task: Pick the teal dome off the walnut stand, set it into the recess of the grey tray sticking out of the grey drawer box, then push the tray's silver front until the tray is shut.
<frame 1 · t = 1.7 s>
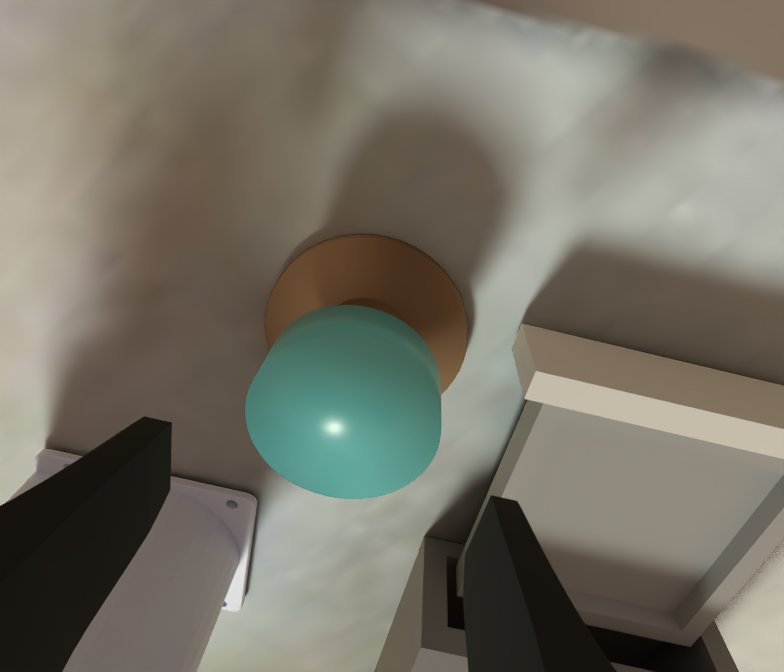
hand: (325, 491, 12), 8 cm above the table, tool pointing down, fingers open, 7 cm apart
tray: (632, 515, 19), point 2 cm above the table, slide at 10.0 cm
disc stand: (367, 329, 19), on the table
teal dome: (353, 384, 16), point 3 cm above the table, touching disc stand
grey drawer box: (517, 649, 27), on the table
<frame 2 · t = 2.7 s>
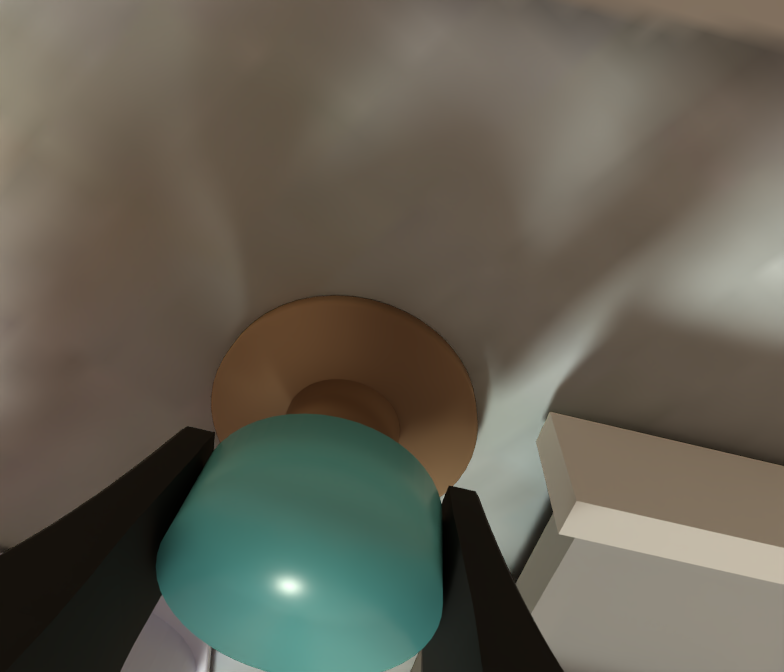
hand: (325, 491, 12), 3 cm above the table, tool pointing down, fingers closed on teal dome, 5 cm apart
tray: (689, 650, 15), point 2 cm above the table, slide at 10.0 cm
disc stand: (346, 413, 14), on the table
teal dome: (320, 512, 11), point 3 cm above the table, touching disc stand, gripper
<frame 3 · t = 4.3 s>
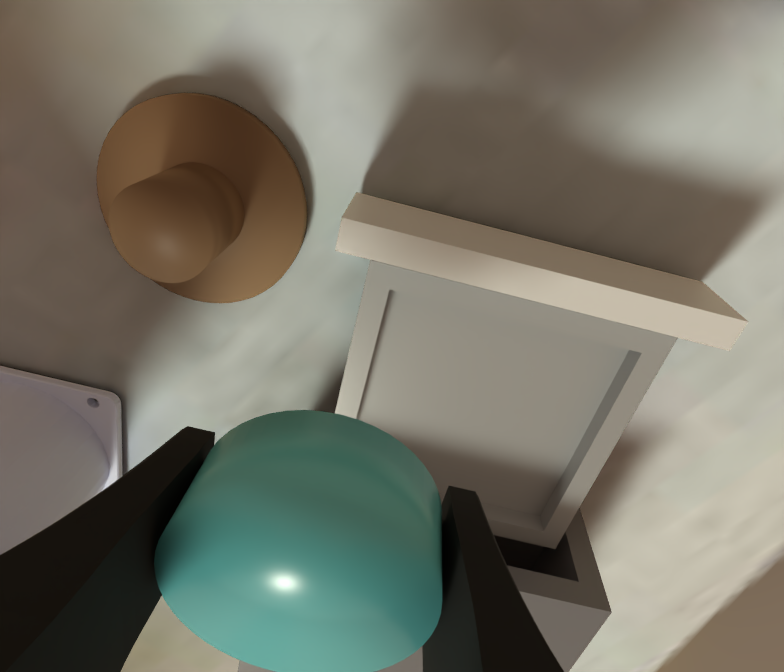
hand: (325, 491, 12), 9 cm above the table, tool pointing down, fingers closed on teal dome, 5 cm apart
tray: (480, 401, 19), point 2 cm above the table, slide at 10.0 cm
disc stand: (207, 203, 18), on the table
teal dome: (319, 509, 11), point 10 cm above the table, touching gripper
grey drawer box: (403, 568, 26), on the table
when the fingers open (3 cm above the table, at t = 6.3 s): teal dome drops 2 cm, resting on tray.
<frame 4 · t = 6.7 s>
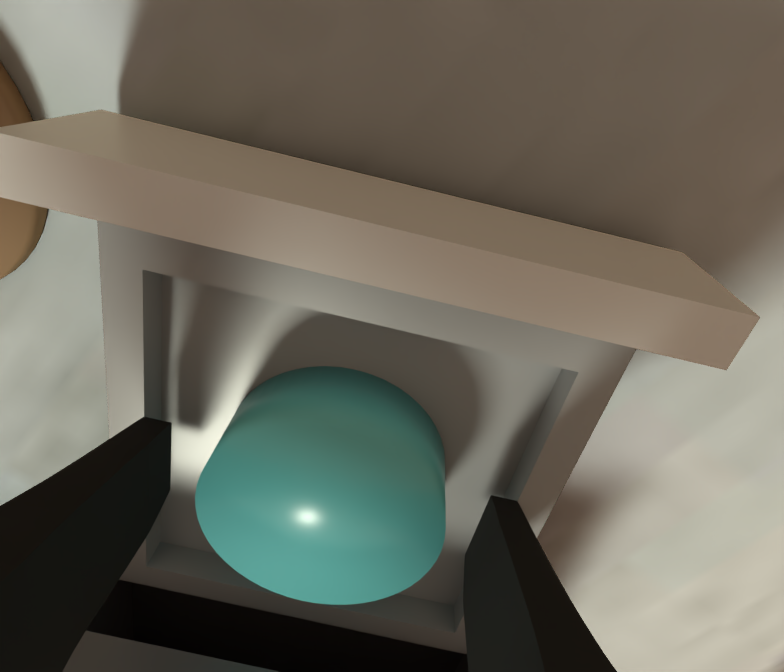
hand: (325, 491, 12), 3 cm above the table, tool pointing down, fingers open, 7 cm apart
tray: (336, 447, 12), point 2 cm above the table, slide at 10.0 cm, touching teal dome
teal dome: (336, 458, 13), point 2 cm above the table, touching tray
grey drawer box: (291, 655, 19), on the table
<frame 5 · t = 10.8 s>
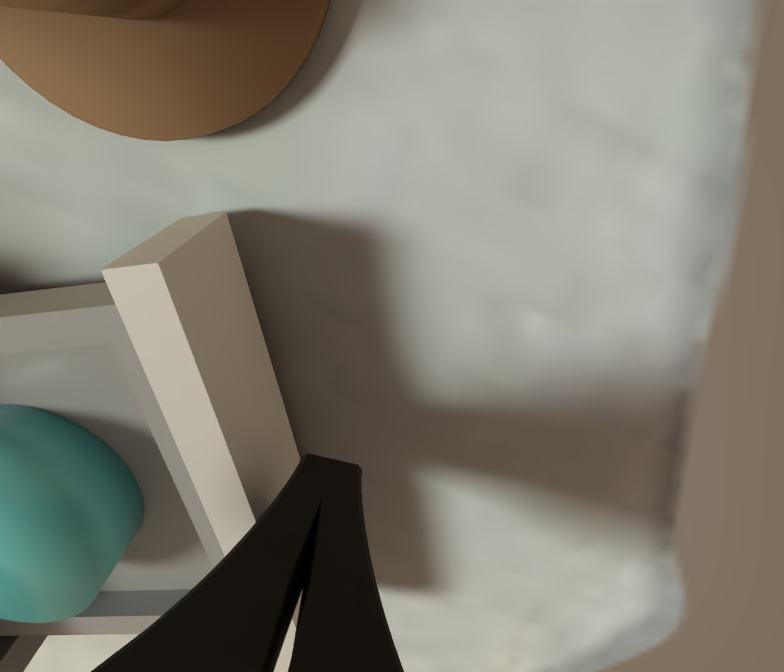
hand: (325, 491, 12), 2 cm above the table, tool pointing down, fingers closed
tray: (57, 492, 13), point 2 cm above the table, slide at 8.4 cm, touching teal dome, gripper
teal dome: (44, 486, 14), point 2 cm above the table, touching tray
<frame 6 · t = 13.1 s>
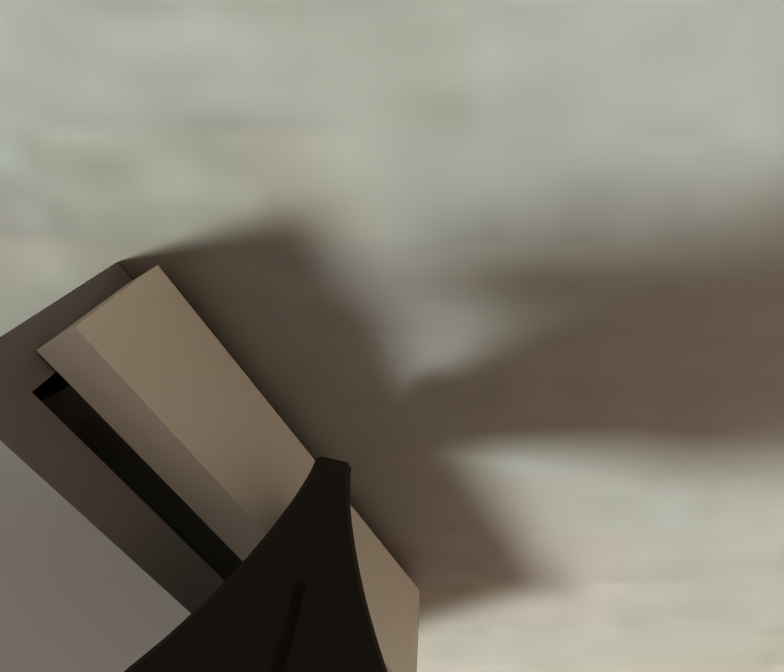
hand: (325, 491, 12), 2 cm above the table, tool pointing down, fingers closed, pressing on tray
tray: (124, 564, 14), point 2 cm above the table, slide at -0.2 cm, touching teal dome, gripper
grey drawer box: (116, 528, 17), on the table
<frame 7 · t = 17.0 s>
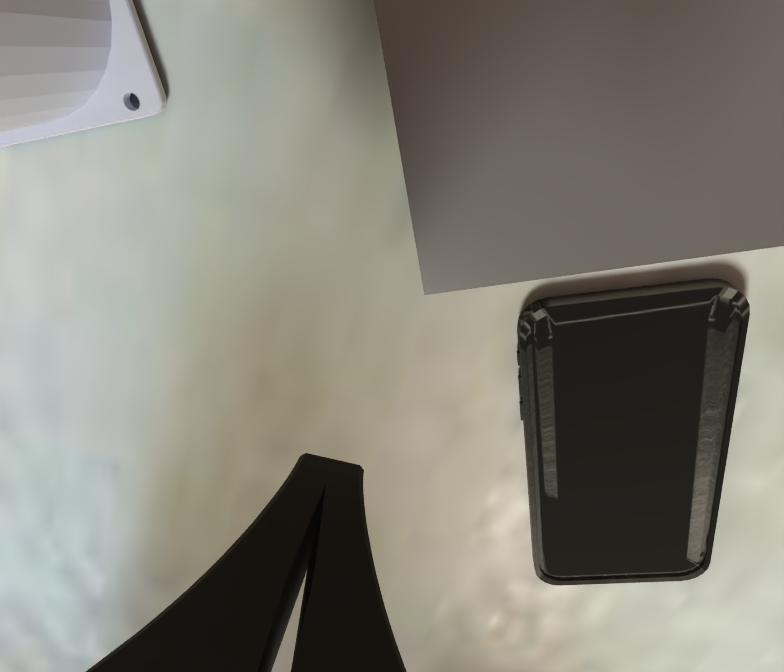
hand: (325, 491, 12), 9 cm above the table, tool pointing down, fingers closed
phone: (614, 442, 23), on the table
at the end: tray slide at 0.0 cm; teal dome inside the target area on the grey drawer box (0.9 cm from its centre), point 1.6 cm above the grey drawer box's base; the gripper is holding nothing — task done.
